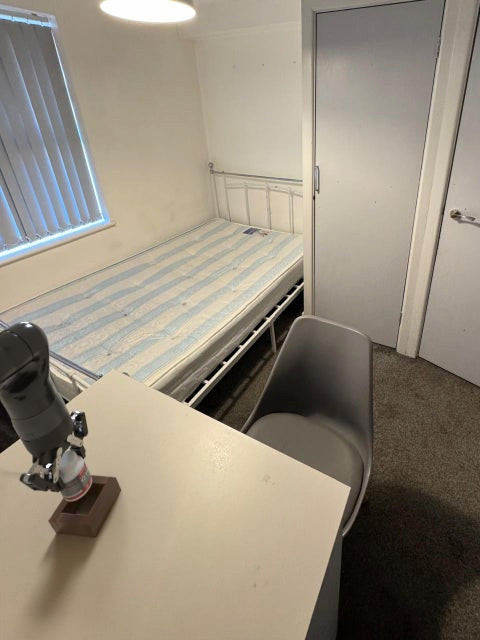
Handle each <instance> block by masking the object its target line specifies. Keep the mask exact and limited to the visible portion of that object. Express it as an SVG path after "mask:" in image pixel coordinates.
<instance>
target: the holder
mask: <svg viewBox="0 0 480 640" xmlns="http://www.w3.org/2000/svg"><path fill="white" fill-rule="evenodd" d="M90 475H91V477H92V484H91V487H90V488H89V490H88V491H87V493H86V494H85V495H83V496H82V497H81V498H79V499H78V500H75V501H66V500H65V499H64V498H63V497H62V499H61V501H60V502H59V504H58V505H57V507H56V508H55V510H54V511H53V513H52V515H51V516H50V518H49V519H48V523H49V525H50V526H51V528H52V530H53V531H54V533H55V534H58V535H59V534H60V535H66V536H67V535H69V536H76V537H85V538H95V539H96V538H97V536H98V534H99V533H100V531H101V529H102V527H103V525H104V523H105V521H106V520H107V518H108V516H109V514H110V512H111V510H112V508H113V506H114V504H115V502H116V500H117V499H118V496H119V495H120V493H121V491H122V489H121V485H120V484H119V481H118V479H117V477H116V476H106V475H95V474H90ZM88 495H93V496H97V498H96V500H95V501H94V503H93V505H92V506H91V508H90V509H89V512H88V513H87V515H85V514H78V513H77V512H78V509H80V507H81V504H82V503H83V501H84V500H85V499H86V497H87V496H88ZM76 513H77V514H76Z"/></svg>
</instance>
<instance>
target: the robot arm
mask: <svg viewBox="0 0 480 640" xmlns="http://www.w3.org/2000/svg"><path fill="white" fill-rule="evenodd" d="M50 356H51V355H50V341H49V338H48V336H47V334H46V332H45V330H43V328H42V327H40V325H37V323H34V322H30V321H19V322H15V323H14V324H11V325H10V326H8V327H6V328H4V329H3V330H2V331H0V385H1V384H2V385H1V387H0V402H1V404H2V405H3V407H4V409H5V411H6V413H7V414H8V416H9V418H10V420H11V423H12V427H13V428H14V431H15V432H16V434H17V436H18V437H19V439H20V441H21V442H22V444H23V446H24V448H25V449H26V451H27V452H28V453H29V454H30V455H31V457H32V459H31V462H32V465H31V467H30V468H29V470H28V471H27V472H23V473H22V474H21V475H20V476H19V479H18V480H19V482H20V483H22V484H23V485H25V486H26V487H28V488H29V489H30V490H32V491H34V492H37V491H38V492H43V493H44V492H52V493H60V491H63V490H64V488H65V485H64V483H63V481H62V479H61V477H59V469H60V468H61V457H62V456H63V454H64V452H66V451H68V450H69V451H74V452H75V453H76V454H77V455H79V456H81V457H82V458H83V459H84V460H85V458H86V457H87V453H86V452H87V450H86V448H85V446H84V438H86V437H87V436H88V435H89V428H88V422H87V417H86V412H85V411H76V410H75V411H74V410H73V411H71V412H70V411H69V409H68V407H67V405H66V403H65V400H64V398H63V397H62V395H61V394H60V393H59V391H58V389H57V388H56V385H55V383H54V380H53V379H52V377H51V363H50V362H51V359H50Z"/></svg>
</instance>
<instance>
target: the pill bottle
mask: <svg viewBox="0 0 480 640" xmlns="http://www.w3.org/2000/svg"><path fill="white" fill-rule="evenodd" d="M91 475H92V474H91V472H90V471H89V469H88V466H87V464H86V462H85V458H84V459H83V458H82V457H81V456H79V455H77V454H76V453H75V452H74V451H71V450H66V451H65V452H64V454H63V456H62V457H61V468H60V469H59V477H61V479H62V481H63V483H64V485H65V488H64V490H63V491H59V493H60V495H61V496H62V499H63V498H64V499H65V500H66V501H75V500H78V499H79V498H81V497H82V496H83V495H85V494H86V493H87V491H88V490H89V488H90V487H91V484H92V477H91Z"/></svg>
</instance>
